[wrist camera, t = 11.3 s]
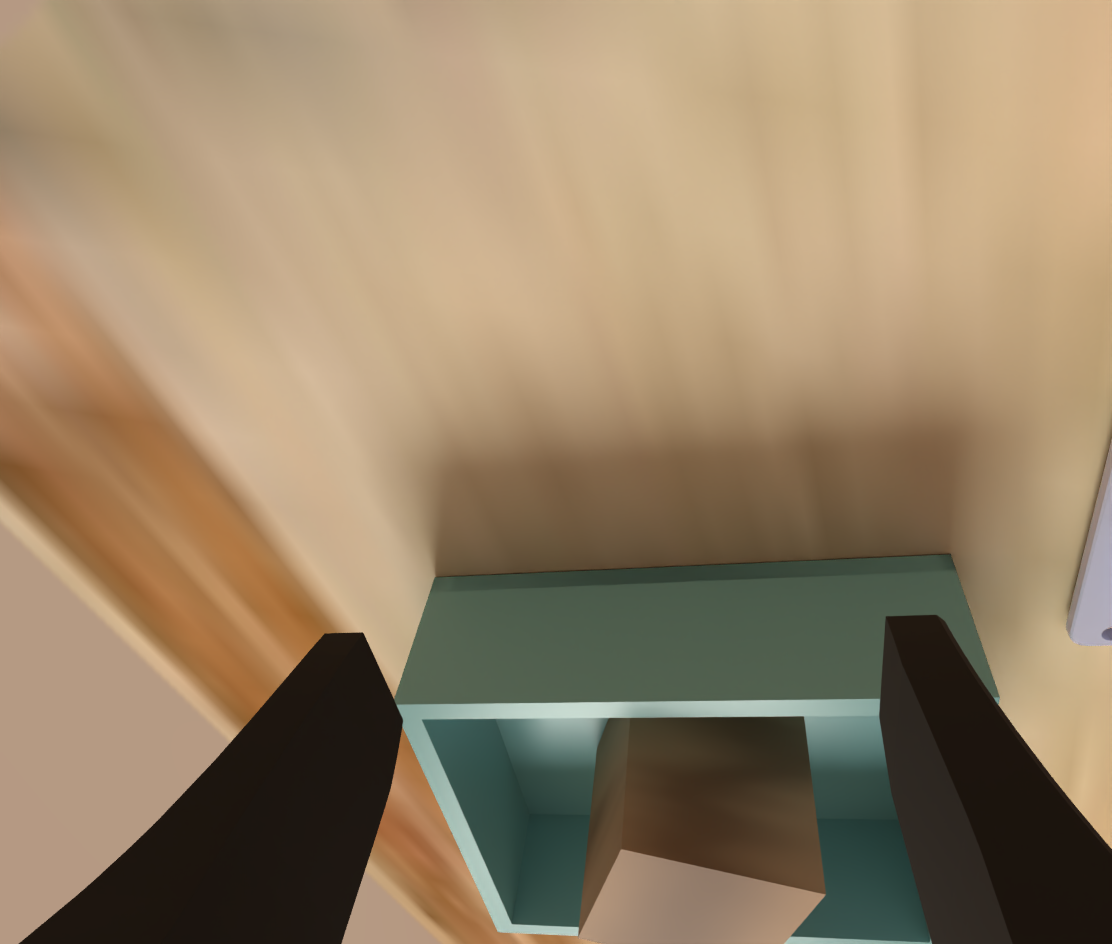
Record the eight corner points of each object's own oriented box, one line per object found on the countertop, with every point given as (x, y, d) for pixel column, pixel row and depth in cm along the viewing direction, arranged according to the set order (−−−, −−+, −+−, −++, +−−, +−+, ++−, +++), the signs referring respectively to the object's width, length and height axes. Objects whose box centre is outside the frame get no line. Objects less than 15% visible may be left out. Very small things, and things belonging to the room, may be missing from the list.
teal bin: (950, 554, 22) (999, 697, 18) (918, 813, 29) (949, 952, 25) (434, 577, 25) (392, 705, 21) (519, 807, 32) (498, 932, 28)
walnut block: (800, 689, 25) (826, 895, 20) (745, 781, 28) (755, 977, 23) (634, 652, 25) (621, 849, 20) (596, 748, 28) (578, 938, 23)
